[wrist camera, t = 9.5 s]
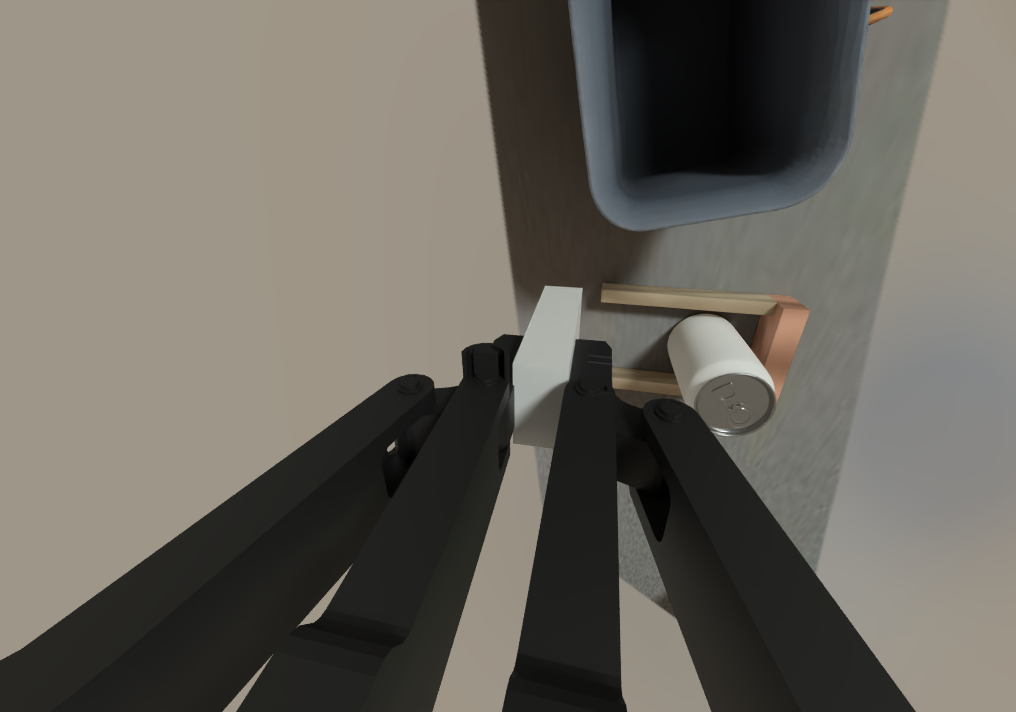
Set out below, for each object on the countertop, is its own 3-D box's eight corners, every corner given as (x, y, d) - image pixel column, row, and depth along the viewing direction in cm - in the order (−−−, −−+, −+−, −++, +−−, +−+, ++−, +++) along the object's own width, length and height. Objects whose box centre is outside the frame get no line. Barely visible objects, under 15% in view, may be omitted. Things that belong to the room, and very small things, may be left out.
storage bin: (565, -93, 30) (537, -277, 17) (813, -188, 25) (1018, -524, 13) (596, 212, 38) (593, 240, 25) (786, 178, 34) (895, 191, 21)
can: (685, 380, 43) (712, 453, 33) (654, 333, 42) (671, 393, 31) (747, 351, 41) (798, 420, 30) (716, 299, 39) (759, 352, 29)
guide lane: (602, 282, 41) (602, 294, 37) (790, 296, 38) (810, 310, 34) (591, 374, 45) (590, 392, 42) (758, 392, 42) (772, 414, 39)
